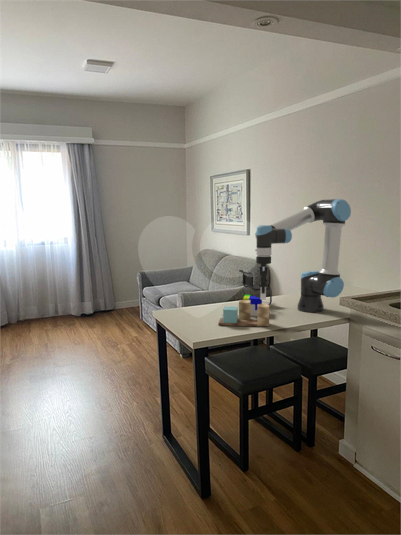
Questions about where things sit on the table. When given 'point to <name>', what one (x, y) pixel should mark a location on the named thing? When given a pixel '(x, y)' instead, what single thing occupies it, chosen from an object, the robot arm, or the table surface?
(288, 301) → the table surface
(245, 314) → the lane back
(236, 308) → the cube
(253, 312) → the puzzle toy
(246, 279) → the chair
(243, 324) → the lane front
